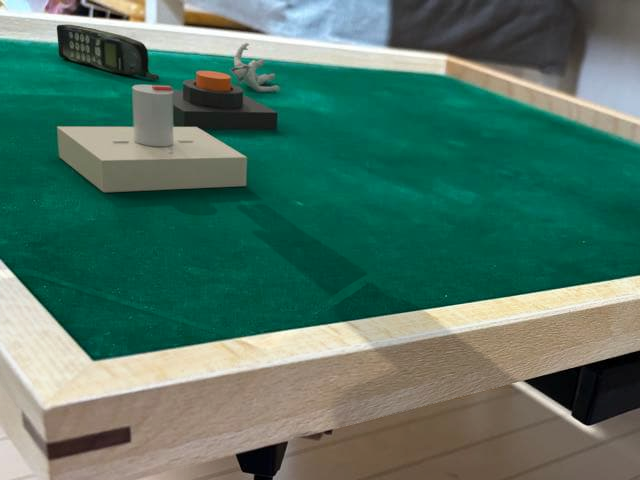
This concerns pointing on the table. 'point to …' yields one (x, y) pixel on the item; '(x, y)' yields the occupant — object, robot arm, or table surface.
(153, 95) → the grey cylinder
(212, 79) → the button
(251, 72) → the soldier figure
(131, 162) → the plate
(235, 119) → the button box
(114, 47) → the mobile phone
